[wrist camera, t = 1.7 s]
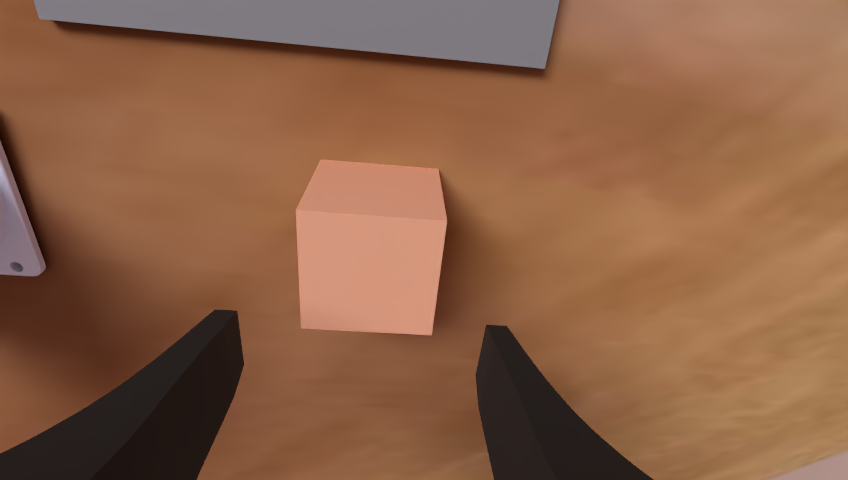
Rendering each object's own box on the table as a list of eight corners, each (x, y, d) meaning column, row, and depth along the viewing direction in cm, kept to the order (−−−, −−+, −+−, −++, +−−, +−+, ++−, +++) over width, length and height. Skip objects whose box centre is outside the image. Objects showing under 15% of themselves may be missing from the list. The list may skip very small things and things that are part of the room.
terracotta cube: (322, 259, 22) (301, 328, 17) (321, 158, 19) (296, 210, 15) (426, 265, 22) (431, 335, 18) (438, 168, 20) (447, 220, 15)
